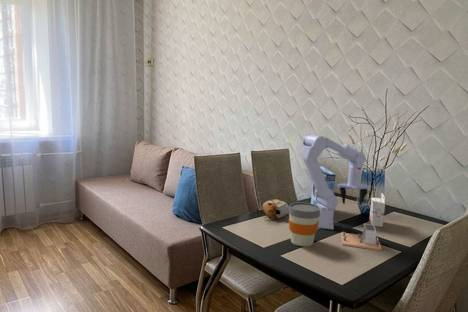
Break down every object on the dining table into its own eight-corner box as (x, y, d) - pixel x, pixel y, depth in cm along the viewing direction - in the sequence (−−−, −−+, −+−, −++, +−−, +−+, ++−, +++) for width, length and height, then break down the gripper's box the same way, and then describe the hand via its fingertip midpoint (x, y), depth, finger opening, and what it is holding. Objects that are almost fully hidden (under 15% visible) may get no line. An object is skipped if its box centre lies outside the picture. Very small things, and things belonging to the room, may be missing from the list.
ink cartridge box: (368, 219, 170) (371, 191, 168) (379, 220, 169) (382, 192, 167) (371, 226, 162) (375, 196, 159) (382, 227, 161) (386, 197, 158)
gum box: (310, 206, 188) (313, 165, 184) (319, 206, 188) (322, 166, 184) (321, 219, 169) (325, 173, 165) (332, 219, 169) (336, 174, 165)
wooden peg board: (342, 245, 139) (342, 239, 139) (340, 234, 150) (341, 228, 150) (381, 250, 135) (382, 244, 135) (377, 238, 147) (377, 233, 146)
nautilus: (276, 227, 157) (248, 221, 165) (295, 213, 174) (269, 208, 182) (275, 211, 155) (247, 206, 164) (295, 198, 172) (269, 194, 181)
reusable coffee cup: (299, 250, 133) (302, 213, 130) (280, 238, 144) (282, 204, 141) (324, 245, 138) (327, 209, 136) (304, 233, 149) (306, 200, 147)
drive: (364, 244, 139) (366, 230, 138) (362, 236, 146) (363, 223, 145) (375, 245, 138) (376, 231, 137) (372, 238, 145) (373, 224, 144)
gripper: (340, 176, 159) (337, 205, 161) (372, 179, 157) (369, 207, 159) (337, 173, 166) (335, 200, 168) (368, 175, 164) (366, 202, 166)
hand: (351, 203), depth 164 cm, fingers open, 7 cm apart
